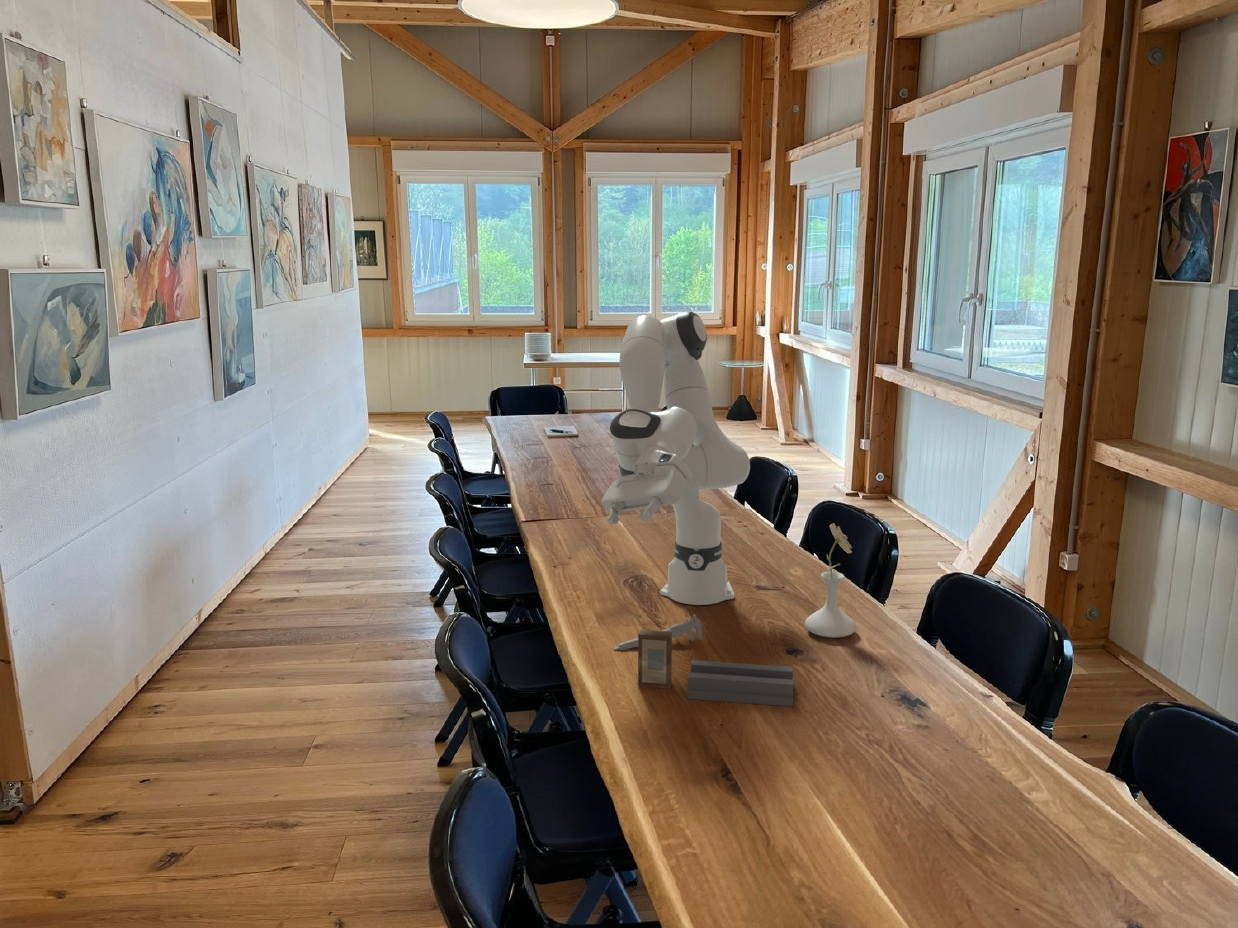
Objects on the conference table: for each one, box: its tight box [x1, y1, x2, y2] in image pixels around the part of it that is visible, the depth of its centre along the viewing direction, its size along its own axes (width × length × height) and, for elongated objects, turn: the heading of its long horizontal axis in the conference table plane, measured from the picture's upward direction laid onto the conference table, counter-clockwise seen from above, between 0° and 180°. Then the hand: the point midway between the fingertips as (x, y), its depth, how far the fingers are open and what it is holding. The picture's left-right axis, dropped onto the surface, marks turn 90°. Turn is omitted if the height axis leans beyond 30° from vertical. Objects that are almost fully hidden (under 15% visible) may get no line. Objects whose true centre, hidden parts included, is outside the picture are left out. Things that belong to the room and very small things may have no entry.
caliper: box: [612, 614, 703, 651], centre depth 199 cm, size 20×1×6 cm, turn 107°
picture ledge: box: [686, 659, 794, 707], centre depth 177 cm, size 10×20×4 cm, turn 80°
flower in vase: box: [804, 522, 857, 639], centre depth 205 cm, size 13×11×25 cm
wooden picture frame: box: [637, 629, 673, 689], centre depth 179 cm, size 3×6×11 cm, turn 80°
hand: (627, 520), depth 181 cm, fingers open, 8 cm apart
